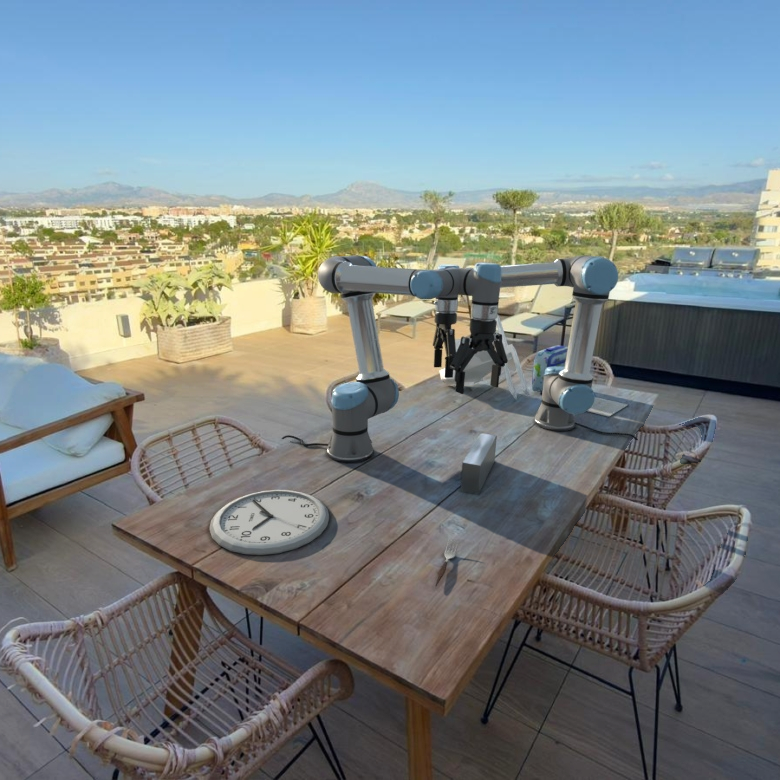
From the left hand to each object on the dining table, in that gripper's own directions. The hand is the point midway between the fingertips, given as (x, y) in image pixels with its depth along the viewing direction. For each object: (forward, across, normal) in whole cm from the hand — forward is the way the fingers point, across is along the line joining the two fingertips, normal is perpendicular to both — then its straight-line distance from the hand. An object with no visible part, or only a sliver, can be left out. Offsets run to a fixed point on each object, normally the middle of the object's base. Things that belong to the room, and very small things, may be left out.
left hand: (477, 389), depth 156 cm
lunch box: (+27, +90, +47) cm, 106 cm away
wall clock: (+28, -63, +4) cm, 69 cm away
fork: (+27, -36, -35) cm, 57 cm away
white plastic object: (+28, +58, +61) cm, 89 cm away
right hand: (+3, +9, +28) cm, 29 cm away
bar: (+27, +1, -3) cm, 27 cm away
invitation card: (+27, +91, +20) cm, 97 cm away
